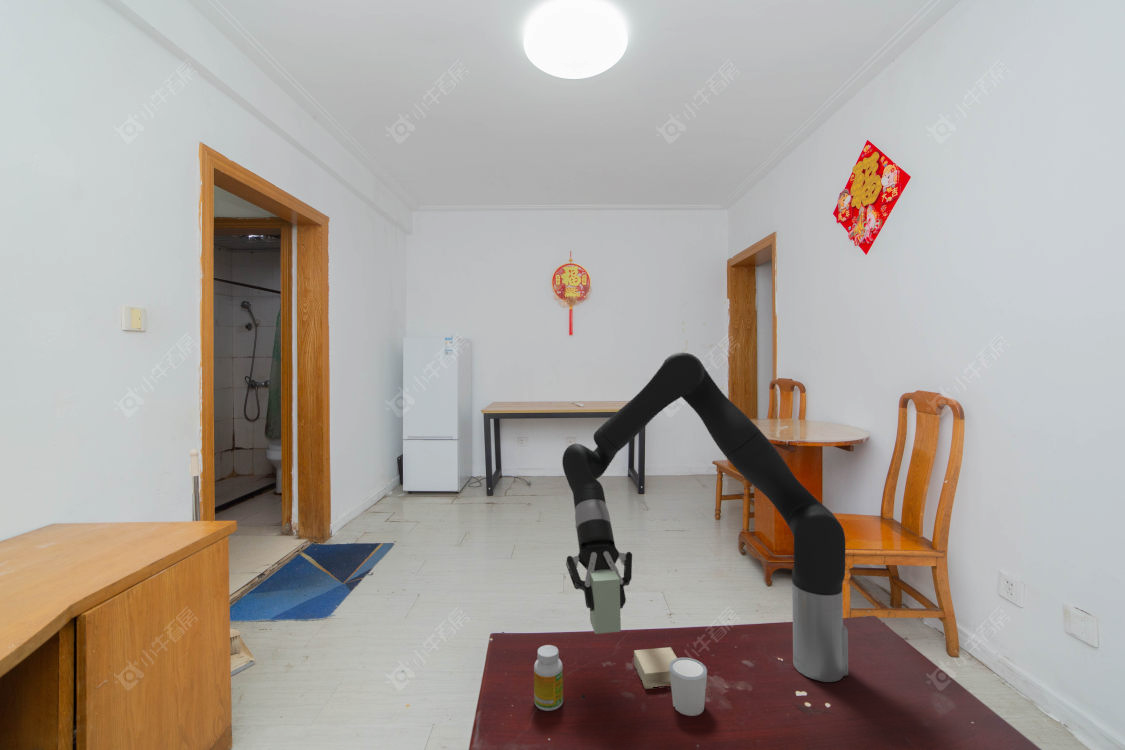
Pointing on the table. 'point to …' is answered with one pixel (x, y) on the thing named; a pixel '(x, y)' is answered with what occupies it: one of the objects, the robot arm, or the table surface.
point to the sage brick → (605, 601)
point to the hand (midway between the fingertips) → (606, 607)
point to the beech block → (654, 666)
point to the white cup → (688, 685)
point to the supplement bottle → (548, 679)
